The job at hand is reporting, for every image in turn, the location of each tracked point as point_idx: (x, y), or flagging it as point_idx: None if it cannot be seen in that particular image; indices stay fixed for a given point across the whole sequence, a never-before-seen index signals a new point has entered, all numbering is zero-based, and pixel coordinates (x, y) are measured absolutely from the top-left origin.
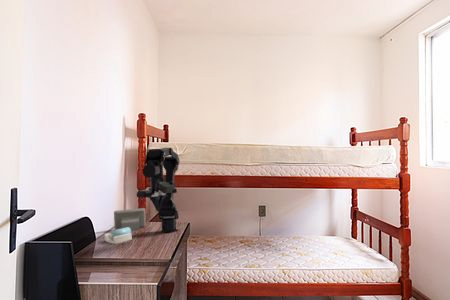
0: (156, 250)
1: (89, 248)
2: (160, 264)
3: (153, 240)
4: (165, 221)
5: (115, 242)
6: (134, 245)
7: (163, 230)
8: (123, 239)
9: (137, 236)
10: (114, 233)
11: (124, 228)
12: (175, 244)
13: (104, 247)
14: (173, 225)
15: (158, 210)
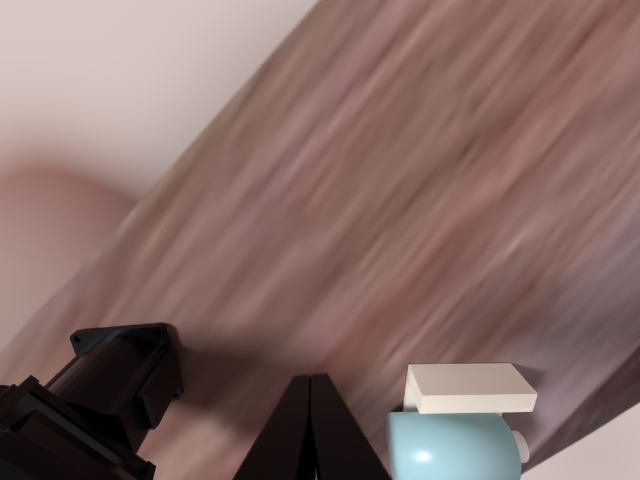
0: (499, 8)
1: (612, 399)
2: None
3: (337, 258)
4: (129, 414)
5: (515, 370)
6: (476, 259)
7: (177, 371)
8: (468, 376)
9: None
10: (515, 443)
11: (438, 473)
12: (314, 14)
13: (573, 358)
14: (88, 360)
15: (325, 377)
